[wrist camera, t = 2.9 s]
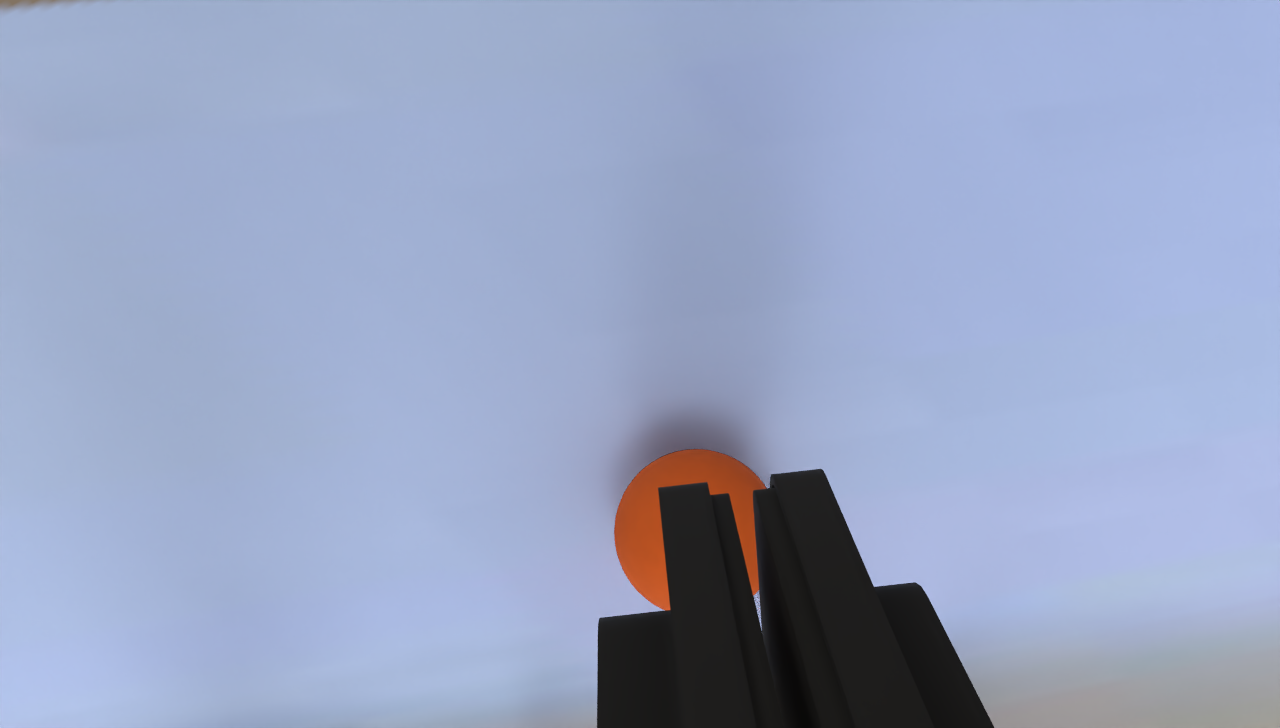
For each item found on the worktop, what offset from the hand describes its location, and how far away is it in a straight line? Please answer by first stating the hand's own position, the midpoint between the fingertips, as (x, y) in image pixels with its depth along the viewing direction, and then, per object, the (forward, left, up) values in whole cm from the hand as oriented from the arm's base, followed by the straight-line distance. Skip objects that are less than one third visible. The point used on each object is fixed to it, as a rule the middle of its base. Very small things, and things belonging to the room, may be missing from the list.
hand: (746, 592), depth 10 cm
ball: (0, -8, -13) cm, 15 cm away
